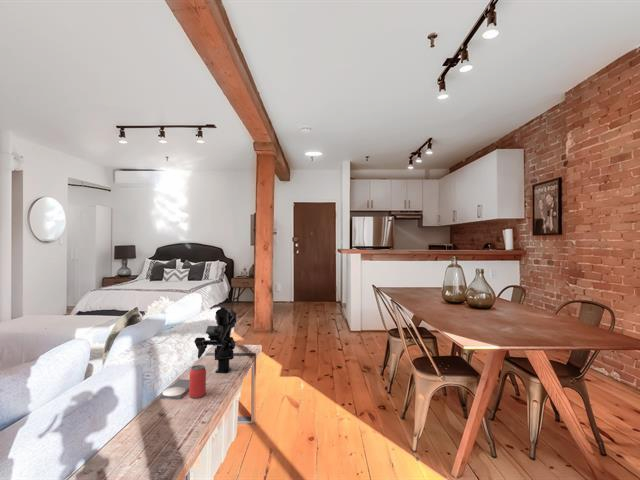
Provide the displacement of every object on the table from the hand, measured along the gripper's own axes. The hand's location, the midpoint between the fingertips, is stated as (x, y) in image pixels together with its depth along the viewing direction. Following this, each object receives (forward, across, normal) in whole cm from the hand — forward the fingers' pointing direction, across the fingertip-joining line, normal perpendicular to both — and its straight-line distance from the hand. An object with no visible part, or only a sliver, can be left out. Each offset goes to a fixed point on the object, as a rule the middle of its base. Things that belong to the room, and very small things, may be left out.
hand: (207, 357), depth 152 cm
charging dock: (+10, -12, +9) cm, 18 cm away
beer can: (+14, -2, +8) cm, 16 cm away
